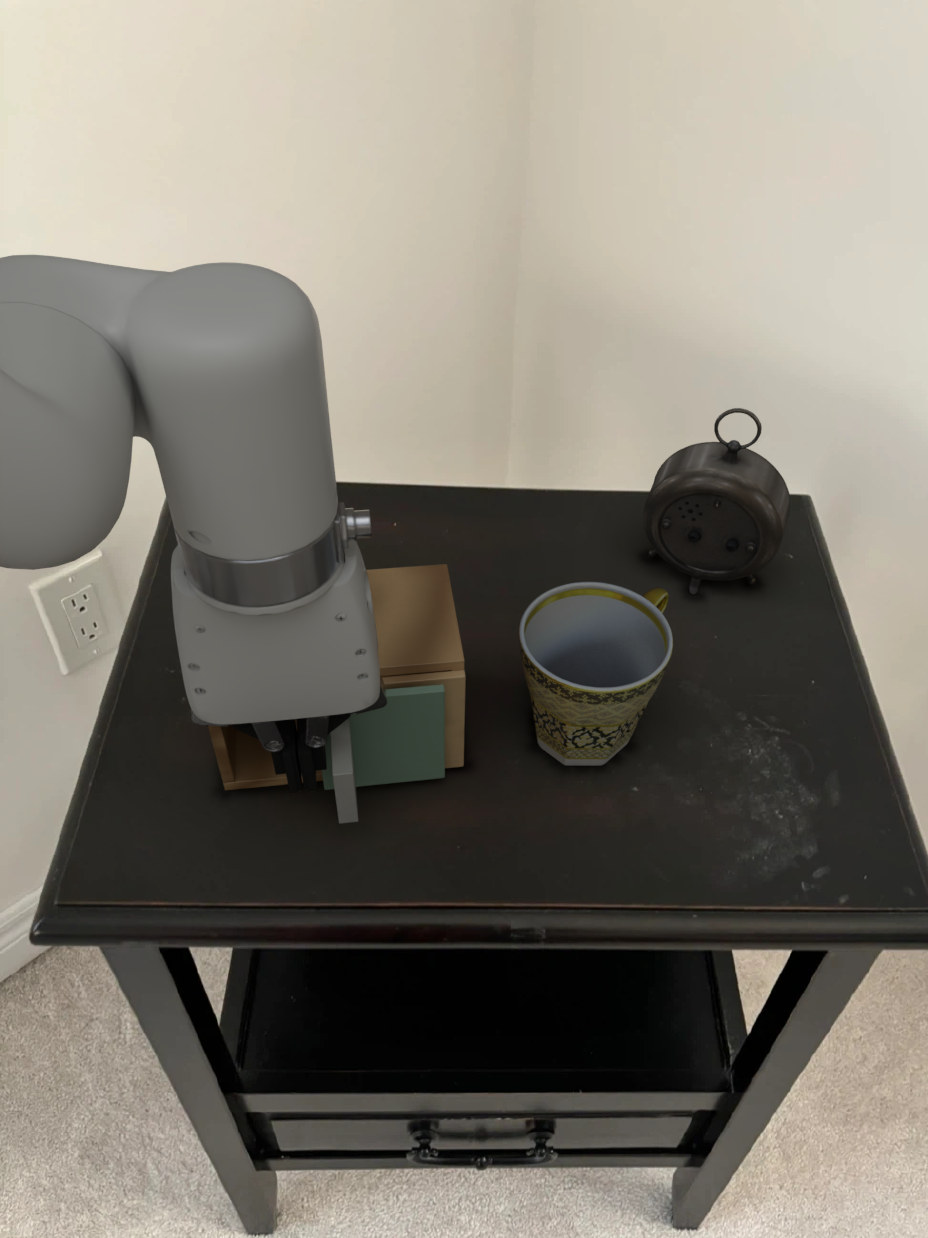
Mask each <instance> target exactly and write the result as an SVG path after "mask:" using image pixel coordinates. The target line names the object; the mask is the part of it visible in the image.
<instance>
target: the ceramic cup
mask: <svg viewBox="0 0 928 1238" xmlns="http://www.w3.org/2000/svg"><path fill="white" fill-rule="evenodd" d="M668 603H669V593H668V591H667V590H666V589H664V588H663V587H660V586H659V587H654V588H651V589H649V590H648V591H646V592H645V593H644V594H643V595H640V594H639V593H638V592H635V591H633V590H631V589H629V588H626V587H623V586H619V585H616V584H611V583H609V582H608V583H607V582H600V581H578V582H570V583H565V584H561V585H557V586H555V587H553V588H550V589H548V590H546V591H544V592H542V593H541V594H539V595H538V596H537V597H536V598H534V599H533V600H532V601H531V602H530V603H529V604H528V605H527V606H526V608H525V609H524V611H523V613H522V615H521V618H520V620H519V624H518V642H519V650H520V651H519V652H520V658H521V663H522V668H523V669H522V670H523V673H524V678H525V681H526V686H527V688H528V692H529V695H530V702H531V708H532V715H533V721H534V727H535V728H534V729H535V736H536V741H537V742H536V743H537V744H538V746H539V748H541V749H542V750H543V751H545V752H546V753H547V754H549V755H550V756H551V757H553V758H554V759H555V760H557V762H559V763H561V764H562V765H564V766H567V767H568V766H569V767H571V766H573V767H574V766H577V767H578V766H580V767H581V766H582V767H583V766H584V767H585V766H587V767H588V766H593V767H596V766H604V765H605V764H607V763H608V762H609V761H610V760H611V759H612V758H614V757H615V756H616V754H618V753H619V752H620V751H621V750H622V749H624V748H625V747H626V746H627V745H628V743H629V742H630V739H631V738H632V736H633V734H634V732H635V730H636V728H637V726H638V724H639V723H640V720H641V718H642V716H643V714H644V712H645V710H646V708H647V706H648V704H649V701H650V700H651V698H652V697H653V696H654V694H655V693H656V691H657V689H658V686H659V685H660V682H661V680H662V679H663V677H664V675H665V672H666V670H667V668H668V665H669V663H670V660H671V658H672V654H673V649H674V638H673V637H674V636H673V632H672V628H671V626H670V624H669V622H668V620H667V618H666V617H665V615H664V612H665V610H666V608H667V605H668Z"/></svg>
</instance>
